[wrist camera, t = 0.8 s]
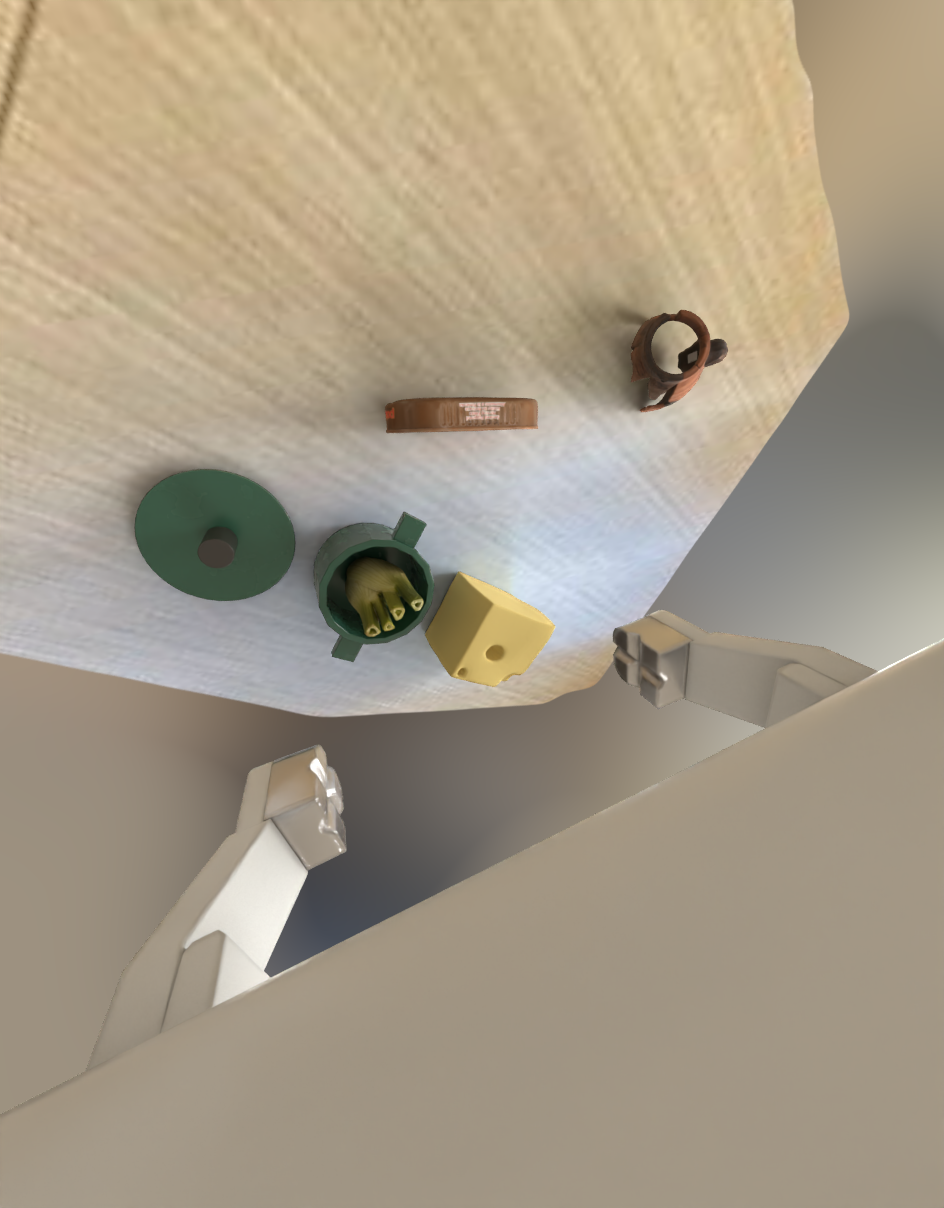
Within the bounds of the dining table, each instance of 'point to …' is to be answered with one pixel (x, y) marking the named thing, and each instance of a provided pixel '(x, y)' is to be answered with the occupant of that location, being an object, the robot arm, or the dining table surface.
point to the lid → (215, 534)
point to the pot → (375, 545)
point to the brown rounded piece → (689, 359)
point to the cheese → (486, 632)
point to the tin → (460, 414)
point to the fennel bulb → (379, 593)
